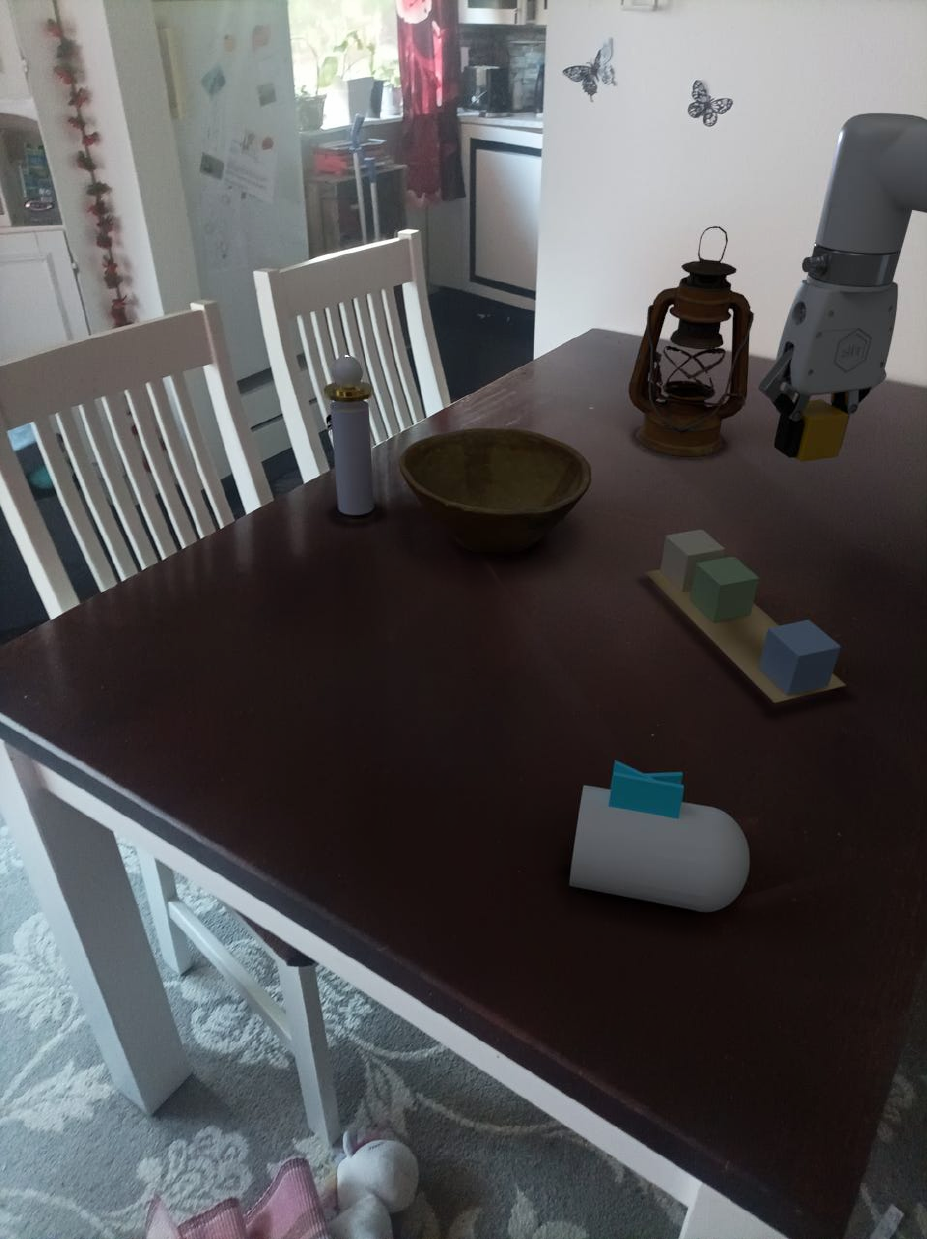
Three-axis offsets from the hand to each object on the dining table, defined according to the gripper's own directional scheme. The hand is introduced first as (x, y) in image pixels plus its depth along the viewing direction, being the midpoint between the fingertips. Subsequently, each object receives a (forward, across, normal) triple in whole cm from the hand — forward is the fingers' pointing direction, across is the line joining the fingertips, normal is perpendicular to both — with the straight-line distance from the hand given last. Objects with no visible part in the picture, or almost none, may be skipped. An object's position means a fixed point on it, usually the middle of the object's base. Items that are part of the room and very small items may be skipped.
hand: (806, 447), depth 91 cm
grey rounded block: (+15, -34, -33) cm, 50 cm away
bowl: (+15, -29, +17) cm, 37 cm away
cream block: (+14, -11, 0) cm, 18 cm away
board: (+15, -11, -9) cm, 21 cm away
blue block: (+14, -11, -18) cm, 26 cm away
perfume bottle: (+15, -43, +29) cm, 54 cm away
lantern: (+15, +9, +38) cm, 42 cm away
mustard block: (0, 0, 0) cm, 0 cm away
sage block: (+14, -11, -6) cm, 19 cm away
